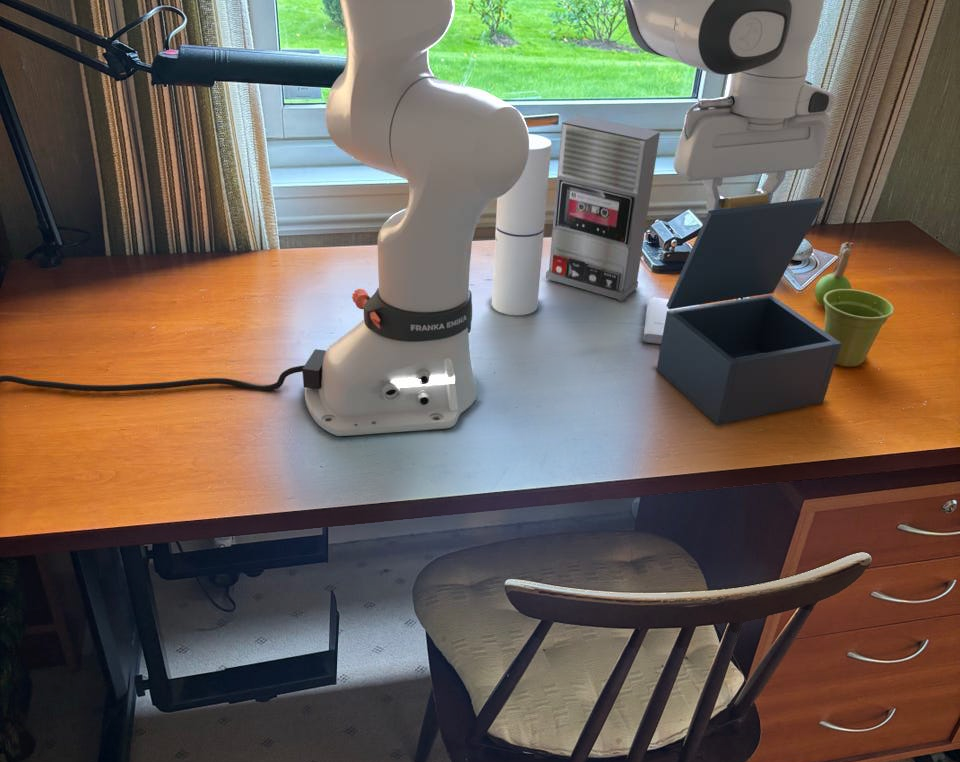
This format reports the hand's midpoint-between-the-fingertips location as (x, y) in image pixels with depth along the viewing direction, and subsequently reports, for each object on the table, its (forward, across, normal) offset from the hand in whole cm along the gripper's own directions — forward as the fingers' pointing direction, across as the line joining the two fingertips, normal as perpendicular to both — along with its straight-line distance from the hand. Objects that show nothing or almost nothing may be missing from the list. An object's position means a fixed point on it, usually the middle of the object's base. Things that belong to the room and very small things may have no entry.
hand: (738, 207), depth 118 cm
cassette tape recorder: (+22, -5, +27) cm, 35 cm away
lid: (+5, 0, -3) cm, 6 cm away
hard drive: (+22, 0, +10) cm, 24 cm away
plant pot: (+22, +19, -6) cm, 30 cm away
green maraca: (+22, +28, +8) cm, 37 cm away
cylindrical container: (+22, -20, +24) cm, 38 cm away
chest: (+22, 0, -8) cm, 24 cm away
